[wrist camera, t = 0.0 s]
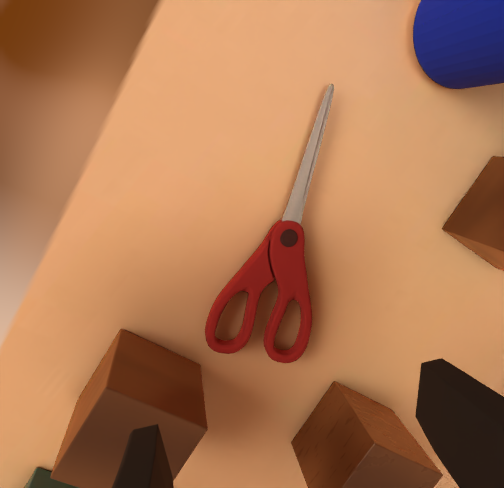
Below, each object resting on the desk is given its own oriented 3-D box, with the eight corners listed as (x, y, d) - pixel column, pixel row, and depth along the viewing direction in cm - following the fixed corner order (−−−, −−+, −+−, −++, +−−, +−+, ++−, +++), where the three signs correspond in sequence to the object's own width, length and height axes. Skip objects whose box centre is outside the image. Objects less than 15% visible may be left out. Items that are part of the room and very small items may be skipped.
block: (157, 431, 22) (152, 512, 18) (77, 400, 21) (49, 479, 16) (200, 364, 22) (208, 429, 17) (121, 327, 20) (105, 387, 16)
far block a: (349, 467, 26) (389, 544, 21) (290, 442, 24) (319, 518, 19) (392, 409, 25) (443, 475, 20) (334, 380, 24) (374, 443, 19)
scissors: (199, 342, 21) (201, 352, 20) (273, 66, 18) (278, 63, 17) (296, 358, 23) (301, 367, 22) (379, 102, 20) (389, 101, 19)
